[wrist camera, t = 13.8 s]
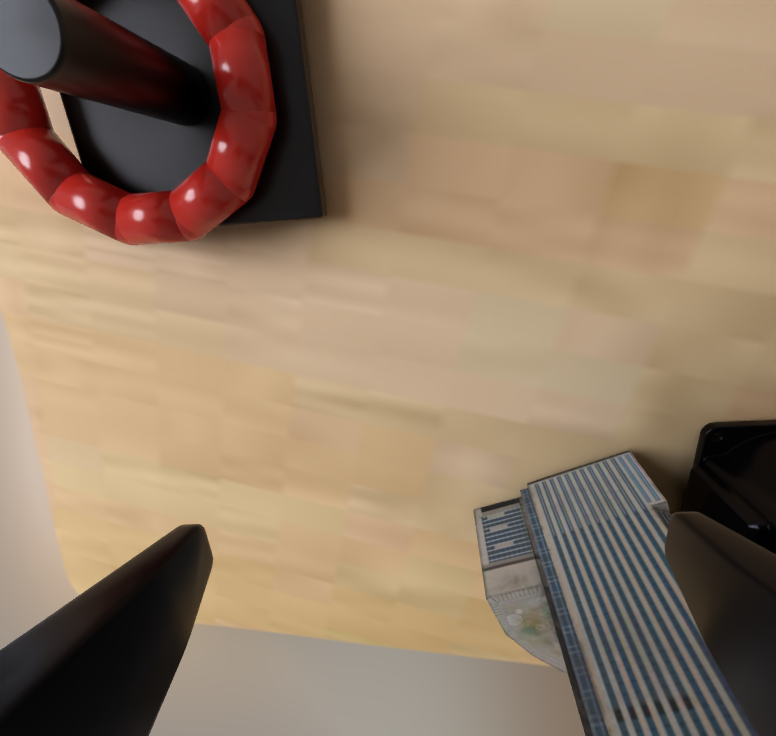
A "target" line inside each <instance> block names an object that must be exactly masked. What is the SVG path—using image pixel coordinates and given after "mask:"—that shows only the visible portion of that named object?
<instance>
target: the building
mask: <svg viewBox="0 0 776 736" xmlns="http://www.w3.org/2000/svg"><path fill="white" fill-rule="evenodd" d="M527 485H528V488H527V489H524V490H520V492H521V495H522V498H517V499H513V500H509V501H506V502H502V503H498V504H494V505H491V506H487V507H483V508H480V509H476V510H474V517H475V524H476V531H477V538H478V545H479V552H480V559H481V566H482V573H483V580H484V587H485V594H486V599H487V601H488V603H489V605H490V606H491V608H492V610H493V612H494V614H495V616H496V617H497V619H498V621H499V623H500V625H501V627H502V628H503V630H504V632H505V634H506V635H507V636H509V637H510V638H511V639H512V640H514V641H515V642H516V643H517V644H519V645H520V646H521V647H522V648H524V649H525V650H526V651H528V652H529V653H530V654H531V655H533V656H534V657H536V658H538V659H540V660H542V661H544V662H545V663H547V664H549V665H551V666H553V667H555V668H557V669H559V670H560V671H562V672H566V673H568V676H569V679H570V683H571V686H572V690H573V693H574V697H575V700H576V704H577V707H578V711H579V714H580V718H581V721H582V725H583V728H584V732H585V735H586V736H757V734H756V732H755V731H754V729H753V727H752V725H751V724H750V722H749V720H748V718H747V717H746V715H745V713H744V711H743V710H742V708H741V706H740V704H739V703H738V701H737V699H736V697H735V696H734V694H733V692H732V690H731V689H730V687H729V685H728V683H727V682H726V680H725V678H724V676H723V675H722V673H721V671H720V669H719V668H718V666H717V664H716V662H715V661H714V659H713V657H712V655H711V653H710V652H709V650H708V648H707V646H706V644H705V642H704V640H703V638H702V636H701V634H700V632H699V630H698V628H697V625H696V623H695V621H694V619H693V616H692V614H691V612H690V610H689V608H688V605H687V603H686V601H685V599H684V597H683V594H682V592H681V590H680V588H679V586H678V583H677V581H676V579H675V577H674V575H673V572H672V570H671V568H670V566H669V563H668V561H667V559H666V555H665V541H666V536H667V531H668V526H669V522H670V518H671V516H672V515H671V514H670V510H669V505H668V502H667V501H666V499H665V498H664V496H663V495H662V494H661V492H660V491H659V490H658V488H657V487H656V486H655V484H654V483H653V482H652V480H651V479H650V477H649V476H648V475H647V473H646V472H645V471H644V469H643V468H642V467H641V465H640V464H639V462H638V461H637V460H636V458H635V457H634V456H633V454H632V453H631V452H630V450H629V451H626V452H623V453H620V454H616V455H613V456H610V457H607V458H604V459H601V460H598V461H595V462H592V463H589V464H586V465H583V466H580V467H577V468H574V469H571V470H568V471H564V472H561V473H558V474H555V475H552V476H549V477H546V478H543V479H540V480H537V481H534V482H531V483H528V484H527Z"/></svg>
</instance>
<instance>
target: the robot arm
mask: <svg viewBox="0 0 776 736" xmlns="http://www.w3.org/2000/svg"><path fill="white" fill-rule="evenodd" d="M715 432H717V434H716V435H714V436H712V434H714V433H715ZM711 436H712V437H711ZM665 555H666V559H667V561H668V563H669V566H670V568H671V570H672V572H673V575H674V577H675V579H676V581H677V583H678V586H679V588H680V590H681V592H682V594H683V597H684V599H685V601H686V603H687V605H688V608H689V610H690V612H691V614H692V616H693V619H694V621H695V623H696V625H697V628H698V630H699V632H700V634H701V636H702V638H703V640H704V642H705V644H706V646H707V648H708V650H709V652H710V653H711V655H712V657H713V659H714V661H715V662H716V664H717V666H718V668H719V669H720V671H721V673H722V675H723V676H724V678H725V680H726V682H727V683H728V685H729V687H730V689H731V690H732V692H733V694H734V696H735V697H736V699H737V701H738V703H739V704H740V706H741V708H742V710H743V711H744V713H745V715H746V717H747V718H748V720H749V722H750V724H751V725H752V727H753V729H754V731H755V732H756V734H757V736H776V420H764V421H739V422H714V423H709V424H707V425H705V426H704V427H703V428H702V430H701V432H700V437H699V441H698V446H697V450H696V455H695V459H694V464H693V467H692V469H691V472H690V476H689V481H688V486H687V490H686V495H685V499H684V504H683V512H675V513H673V514H672V516H671V518H670V522H669V526H668V531H667V536H666V541H665ZM212 564H213V556H212V551H211V548H210V545H209V541H208V538H207V535H206V531H205V529H204V527H203V526H202V525H200V524H187V525H181V526H179V527H177V528H176V529H174V530H173V531H171V532H170V533H168V534H167V535H166V536H164V537H163V538H161V539H160V540H158V541H157V542H156V543H154V544H153V545H151V546H150V547H148V548H147V549H145V550H144V551H143V552H141V553H140V554H138V555H137V556H135V557H134V558H132V559H131V560H130V561H128V562H127V563H125V564H124V565H122V566H121V567H120V568H118V569H117V570H115V571H114V572H112V573H111V574H109V575H108V576H107V577H105V578H104V579H102V580H101V581H99V582H98V583H96V584H95V585H94V586H92V587H91V588H89V589H88V590H86V591H85V592H83V593H82V594H81V595H79V596H78V597H76V598H75V599H73V600H72V601H71V602H69V603H68V604H66V605H65V606H63V607H62V608H60V609H59V610H58V611H56V612H55V613H54V614H52V615H50V616H49V617H47V618H46V619H45V620H43V621H42V622H40V623H39V624H37V625H36V626H34V627H33V628H32V629H30V630H29V631H27V632H26V633H24V634H23V635H22V636H20V637H19V638H17V639H16V640H14V641H13V642H11V643H10V644H9V645H7V646H6V647H4V648H3V649H2V650H0V736H149V734H150V731H151V729H152V727H153V724H154V722H155V720H156V717H157V715H158V712H159V710H160V708H161V705H162V703H163V701H164V698H165V696H166V694H167V691H168V689H169V687H170V684H171V682H172V680H173V677H174V675H175V672H176V670H177V668H178V666H179V663H180V661H181V659H182V656H183V653H184V651H185V649H186V646H187V643H188V640H189V637H190V635H191V632H192V628H193V625H194V622H195V619H196V616H197V613H198V610H199V607H200V603H201V600H202V597H203V594H204V591H205V588H206V585H207V581H208V578H209V575H210V572H211V569H212Z"/></svg>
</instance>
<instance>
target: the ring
mask: <svg viewBox="0 0 776 736" xmlns="http://www.w3.org/2000/svg"><path fill="white" fill-rule="evenodd" d="M177 2H178V3H179V5H180V6H181V7H182V9H183V10H184V12H185V13H186V15H187V16H188V18H189V19H190V21H191V22H192V23H193V25H194V26H195V28H196V29H197V31H198V32H199V34H200V35H201V36H202V38H203V39H204V41H205V42H206V44H207V45H208V47H209V50H210V55H211V61H212V66H213V71H214V76H215V82H216V87H217V92H218V97H219V103H220V108H221V110H220V114H219V117H218V121H217V124H216V128H215V131H214V135H213V138H212V142H211V145H210V149H209V152H208V156H207V160H206V162H205V163H203V164H202V165H201V166H200V167H199V168H198V169H197V170H195V171H194V172H193V173H192V174H191V175H190V176H189V177H187V178H186V179H185V180H184V181H183V182H182V183H180V184H179V185H178V186H177V187H176V188H175V189H174V190H171V191H159V192H147V193H135V194H131V193H129V192H127V191H125V190H122V189H120V188H118V187H116V186H114V185H112V184H110V183H108V182H106V181H104V180H102V179H100V178H98V177H95V176H93V175H91V174H89V172H88V171H87V170H86V169H85V168H84V166H83V165H82V164H81V163H80V162H79V160H78V159H77V158H76V157H75V156H74V155H73V153H72V152H71V151H70V150H69V149H68V147H67V146H66V145H65V144H64V143H63V141H62V140H61V139H60V138H59V137H58V135H57V134H56V133H55V132H54V130H53V127H52V124H51V121H50V118H49V114H48V111H47V108H46V105H45V102H44V99H43V96H42V93H41V90H40V87H39V86H36V85H32V84H29V83H25V82H21V81H19V80H16V79H14V78H12V77H11V76H9V75H7V74H6V73H5V72H3V71H2V70H1V69H0V150H1V151H2V152H3V153H4V154H5V156H6V157H7V158H8V159H9V160H10V161H11V162H12V163H13V165H14V166H15V167H16V168H17V169H18V170H19V171H20V172H21V174H22V175H23V176H24V177H25V178H26V179H27V180H28V181H29V183H30V184H31V185H32V186H33V187H34V188H35V189H36V190H37V192H38V193H39V194H40V195H41V196H42V197H43V198H44V199H45V201H46V202H47V203H48V204H49V205H50V206H51V207H52V208H53V209H54V210H55V211H57V212H58V213H60V214H62V215H64V216H66V217H68V218H70V219H72V220H75V221H77V222H79V223H81V224H83V225H85V226H87V227H90V228H92V229H94V230H96V231H98V232H100V233H102V234H105V235H107V236H109V237H111V238H113V239H115V240H117V241H120V242H122V243H125V244H129V245H144V244H157V243H170V242H184V241H195V240H198V239H201V238H203V237H204V236H206V235H207V234H208V233H209V232H211V231H212V230H213V229H214V228H215V227H217V226H218V225H219V224H220V223H222V222H223V221H224V220H225V219H227V218H228V217H229V216H230V215H232V214H233V213H234V212H235V211H236V210H238V209H239V208H240V207H241V206H243V205H244V204H245V203H246V202H248V201H249V200H250V199H251V198H252V196H253V194H254V192H255V190H256V187H257V184H258V181H259V178H260V175H261V172H262V169H263V166H264V163H265V160H266V157H267V154H268V151H269V148H270V145H271V142H272V139H273V136H274V133H275V130H276V125H277V113H276V106H275V99H274V93H273V86H272V79H271V72H270V66H269V59H268V52H267V46H266V39H265V34H264V30H263V27H262V25H261V23H260V21H259V19H258V18H257V16H256V15H255V13H254V12H253V10H252V9H251V7H250V6H249V4H248V2H247V1H246V0H177Z"/></svg>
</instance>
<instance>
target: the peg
mask: <svg viewBox="0 0 776 736" xmlns="http://www.w3.org/2000/svg"><path fill="white" fill-rule="evenodd" d="M246 1H247V2H248V4H249V6H250V7H251V9H252V10H253V12H254V13H255V15H256V16H257V18H258V19H259V21H260V23H261V25H262V27H263V30H264V34H265V39H266V46H267V52H268V59H269V66H270V72H271V79H272V86H273V93H274V99H275V106H276V113H277V125H276V130H275V133H274V136H273V139H272V142H271V145H270V148H269V151H268V154H267V157H266V160H265V163H264V166H263V169H262V172H261V175H260V178H259V181H258V184H257V187H256V190H255V192H254V194H253V196H252V198H251V199H250V200H249V201H248V202H246V203H245V204H244V205H243V206H241V207H240V208H239V209H238V210H236V211H235V212H234V213H233V214H232V215H230V216H229V217H228V218H227V219H225V220H224V221H223V222H222V223H220V224H219V225H218V226H221V225H234V224H247V223H259V222H272V221H284V220H297V219H309V218H321V217H325V216H327V210H326V202H325V194H324V185H323V177H322V169H321V161H320V153H319V145H318V136H317V128H316V120H315V112H314V104H313V95H312V87H311V79H310V71H309V63H308V55H307V46H306V38H305V30H304V22H303V14H302V6H301V0H246ZM0 69H1V70H2V71H3V72H5V73H6V74H7V75H9V76H11V77H12V78H14V79H16V80H19V81H21V82H25V83H29V84H32V85H36V86H39V87H43V88H47V89H50V90H54V91H58V92H60V95H61V98H62V102H63V105H64V108H65V111H66V115H67V118H68V121H69V124H70V128H71V131H72V134H73V137H74V141H75V144H76V147H77V150H78V153H79V157H80V160H81V163H82V165H83V166H84V168H85V169H86V170H87V171H88V172H89V174H91V175H93V176H95V177H98V178H100V179H102V180H104V181H106V182H108V183H110V184H112V185H114V186H116V187H118V188H120V189H122V190H125V191H127V192H129V193H131V194H135V193H147V192H159V191H171V190H174V189H175V188H176V187H177V186H178V185H179V184H180V183H182V182H183V181H184V180H185V179H186V178H187V177H189V176H190V175H191V174H192V173H193V172H194V171H195V170H197V169H198V168H199V167H200V166H201V165H202V164H203V163H205V162H206V160H207V156H208V152H209V149H210V145H211V142H212V138H213V135H214V131H215V128H216V124H217V121H218V117H219V114H220V110H221V108H220V103H219V97H218V92H217V87H216V82H215V76H214V71H213V66H212V61H211V55H210V50H209V47H208V45H207V44H206V42H205V41H204V39H203V38H202V36H201V35H200V34H199V32H198V31H197V29H196V28H195V26H194V25H193V23H192V22H191V21H190V19H189V18H188V16H187V15H186V13H185V12H184V10H183V9H182V7H181V6H180V5H179V3H178V2H177V0H0Z"/></svg>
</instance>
